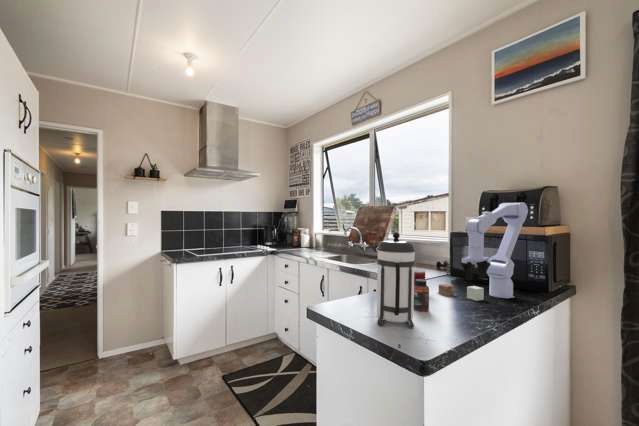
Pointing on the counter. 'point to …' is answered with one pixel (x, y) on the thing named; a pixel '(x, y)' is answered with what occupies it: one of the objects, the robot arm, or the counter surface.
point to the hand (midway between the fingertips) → (475, 279)
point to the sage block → (475, 293)
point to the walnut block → (446, 289)
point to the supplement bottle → (421, 295)
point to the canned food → (419, 274)
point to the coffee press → (395, 281)
